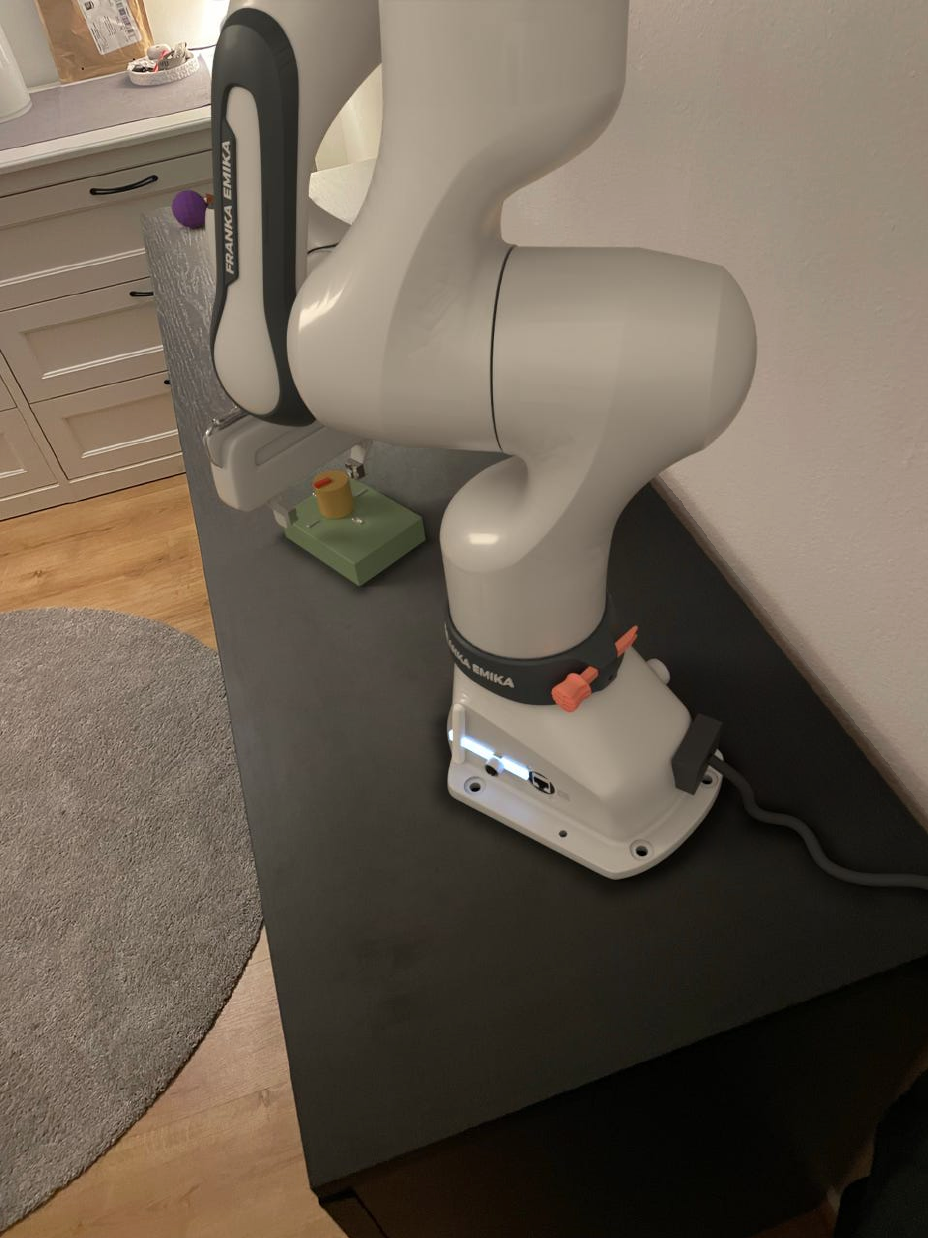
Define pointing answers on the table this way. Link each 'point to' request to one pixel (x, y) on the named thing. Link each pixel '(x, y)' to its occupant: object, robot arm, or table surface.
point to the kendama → (190, 208)
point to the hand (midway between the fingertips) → (324, 498)
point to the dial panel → (358, 533)
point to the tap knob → (333, 494)
